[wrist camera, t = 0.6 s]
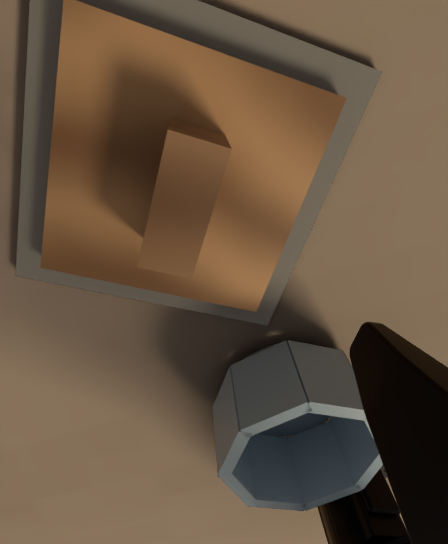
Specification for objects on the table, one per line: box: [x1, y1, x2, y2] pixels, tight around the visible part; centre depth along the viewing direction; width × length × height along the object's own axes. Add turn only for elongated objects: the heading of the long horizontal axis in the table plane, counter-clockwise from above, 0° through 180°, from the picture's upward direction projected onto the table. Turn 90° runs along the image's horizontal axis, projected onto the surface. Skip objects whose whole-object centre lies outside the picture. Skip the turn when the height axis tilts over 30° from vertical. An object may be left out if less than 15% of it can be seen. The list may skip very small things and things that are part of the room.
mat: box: [16, 0, 382, 326], centre depth 19 cm, size 15×15×1 cm
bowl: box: [213, 340, 383, 511], centre depth 25 cm, size 10×10×6 cm
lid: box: [40, 0, 347, 312], centre depth 17 cm, size 12×12×4 cm
